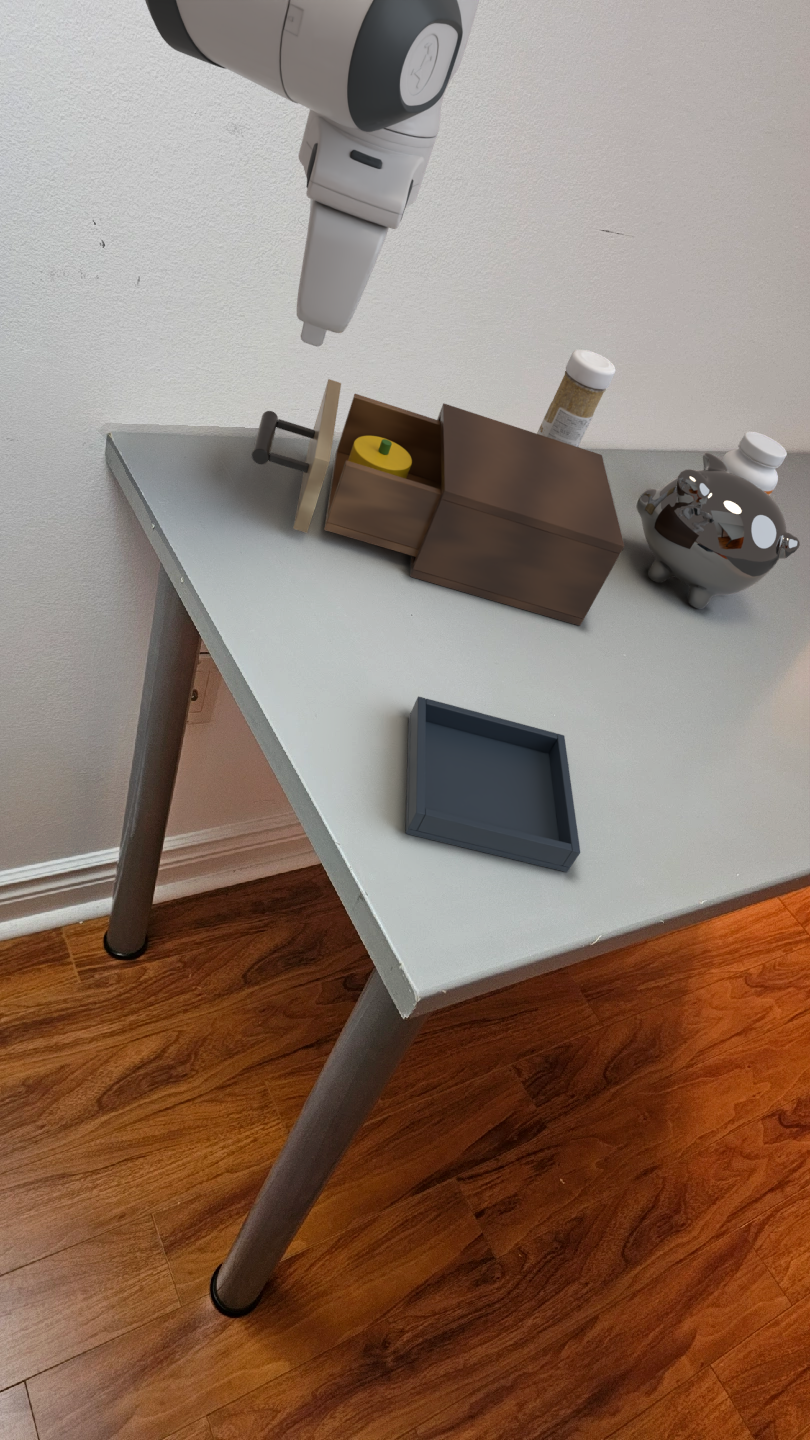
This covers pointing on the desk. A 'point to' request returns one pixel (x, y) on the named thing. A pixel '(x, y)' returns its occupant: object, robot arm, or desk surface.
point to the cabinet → (519, 519)
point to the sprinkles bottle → (577, 397)
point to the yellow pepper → (381, 455)
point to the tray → (490, 785)
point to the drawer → (364, 472)
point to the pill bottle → (756, 460)
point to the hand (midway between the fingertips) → (311, 337)
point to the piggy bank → (713, 531)
